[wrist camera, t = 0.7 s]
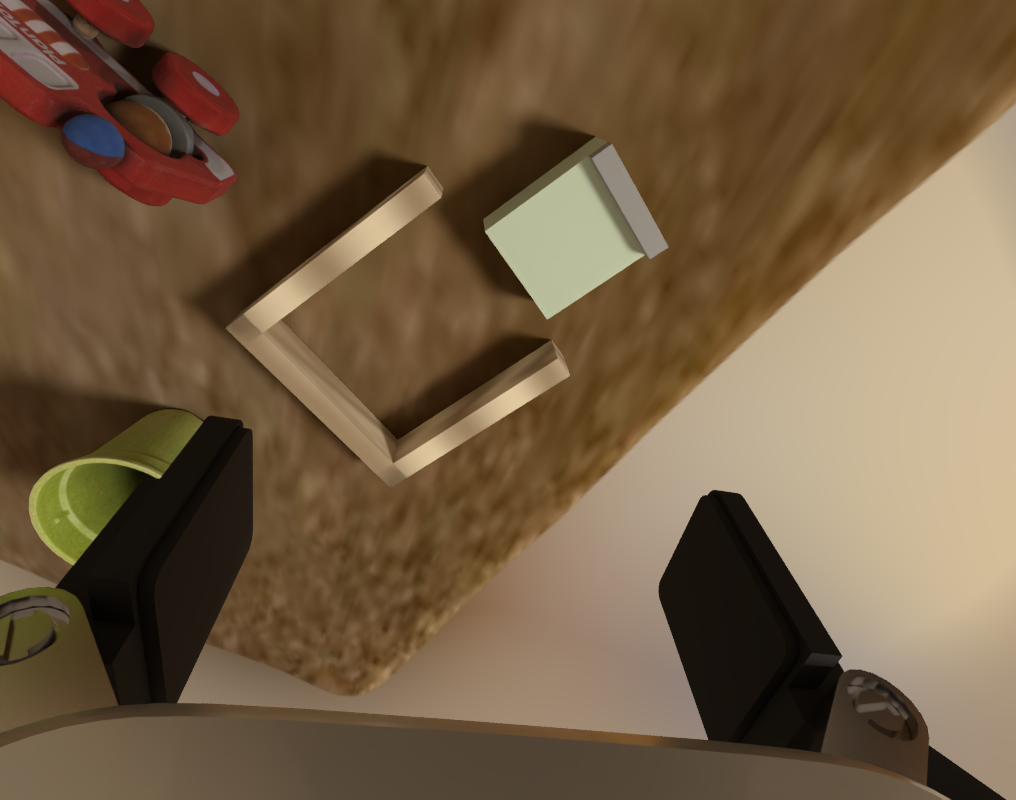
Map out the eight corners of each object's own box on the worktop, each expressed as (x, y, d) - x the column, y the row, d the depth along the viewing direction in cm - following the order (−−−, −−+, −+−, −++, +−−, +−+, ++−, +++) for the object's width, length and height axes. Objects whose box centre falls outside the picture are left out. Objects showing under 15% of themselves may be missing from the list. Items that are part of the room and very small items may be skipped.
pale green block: (594, 136, 33) (611, 143, 29) (646, 228, 36) (668, 247, 32) (483, 218, 35) (485, 235, 31) (540, 300, 38) (549, 325, 34)
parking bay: (427, 166, 33) (424, 173, 31) (563, 355, 40) (570, 375, 37) (242, 310, 37) (225, 328, 34) (395, 463, 43) (390, 487, 41)
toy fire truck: (204, 224, 34) (110, 278, 25) (-7, 36, 29) (-221, 18, 20) (280, 141, 32) (208, 167, 23) (68, -76, 27) (-130, -152, 18)
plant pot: (86, 392, 39) (-5, 468, 31) (226, 379, 39) (169, 452, 32) (140, 500, 43) (72, 589, 36) (265, 488, 44) (223, 574, 36)
